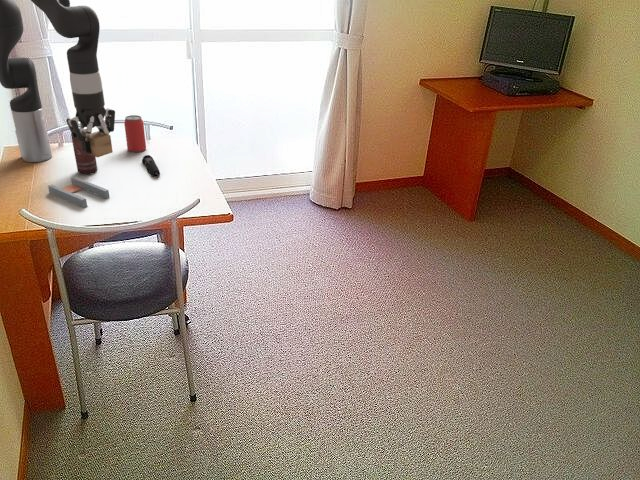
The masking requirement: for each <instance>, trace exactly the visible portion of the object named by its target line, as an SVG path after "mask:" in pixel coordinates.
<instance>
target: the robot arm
mask: <svg viewBox="0 0 640 480" xmlns="http://www.w3.org/2000/svg"><path fill="white" fill-rule="evenodd" d="M30 1H31V2H32V3H33V4H34V5H35V6H36V7H37V8H38V9H40V10H41V11H42V12H43V13H44V14H45V16H46V17H47V19H48V21H49V22H50V24H51V25H52V27H53V29H54V31H56V33H58V35H60V36H62V37H63V38H66V39H75V38H78V40H77V43H76V44H75V45H73V46H71V47H69V48H68V49H67V50H66V59H67V65H68V69H69V70H68V71H69V81H70V88H71V95H72V100H73V105H74V108H75V112H76V113H75V116H74V117H72V118H66V124H67V126H68V128H69V131H70V133H72V136H73V138H74V139H77V140H79V141H81V143H82V149H83V151H84V152H85V153H87V154H91V153H92V152H91V146H90V141H89V137H90V133H93V132H92V131H93V128H95V127H96V128H97V129H98V130H97V131H99V132H102V133H105V134H108V135H110V133H111V132H112V133H113V132H114V131H115V122H116V121H115V119H116V110H114V109H111V108H105V97H104V96H105V95H104V90H103V81H102V77H101V74H100V69H99V63H98V57H97V56H98V47H99V37H100V29H101V27H100V20H99V16H98V15H97V12H96V11H95V10H94V9H93V8H92V7H91V6H88V5H77V6H71V1H70V0H30ZM23 33H24V23H23V18H22V12H21V10H20V7H19V6H18V4H17V2H15V1H14V0H0V85H1V86H2V87H3V88H5V89H8V90H13V89H26V88H27V89H26V91H25V92H23V93H22V94H20V95H18V96H15V97H13V98H12V99H11V100H9V107H10V111H11V115H12V119H13V123H14V124H13V125H14V127H15V135H16V139H17V143H18V148H19V152H20V153H19V154H20V157H21V158H22V160H23V161H24V162H28V163H39V162H45V161H48V160H50V159H52V157H53V152H52V149H51V144H50V138H49V135H48V131H47V130H48V129H47V126H46V125H47V124H46V118H45V116H44V110H43V105H42V101H41V97H40V96H41V95H40V91H39V85H38V76H37V70H36V67H35V64H34V61H33V60H32V59H31V58H29V57H11V58H10V55H11V52H12V51H13V49H15V47H16V45H18V43H19V41H20V40H21V38H22V36H23ZM104 119H105V120H104Z"/></svg>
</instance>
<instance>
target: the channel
mask: <svg viewBox="0 0 640 480" xmlns="http://www.w3.org/2000/svg"><path fill="white" fill-rule="evenodd" d="M70 180H71V184H68V185H65V186H64V187H63V186H62V187H59V186H57V185H54V184H48V186H47V187H48V192H49V194H51V195H53V196H54V197H58V198H60V199H62V200H64V201H68V203H71V204H74V205H76V206H78V207H81V208H83V209H84V208H88V203H87V202H88V201H87V198H85V197H83V196H81V195H79V194H77V193H76V192H79V191H86V192H88V193H91V194H93V195H96V196H98V197H101V198H103V199H106V200H107V199H109V198H110V193H109V192H110V191H109V189H106V188H105V187H102V186H99V185H97V184H95V183H92V182H89V181H86V180H84V179H81V178H80V177H77V176H72V177H70Z"/></svg>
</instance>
